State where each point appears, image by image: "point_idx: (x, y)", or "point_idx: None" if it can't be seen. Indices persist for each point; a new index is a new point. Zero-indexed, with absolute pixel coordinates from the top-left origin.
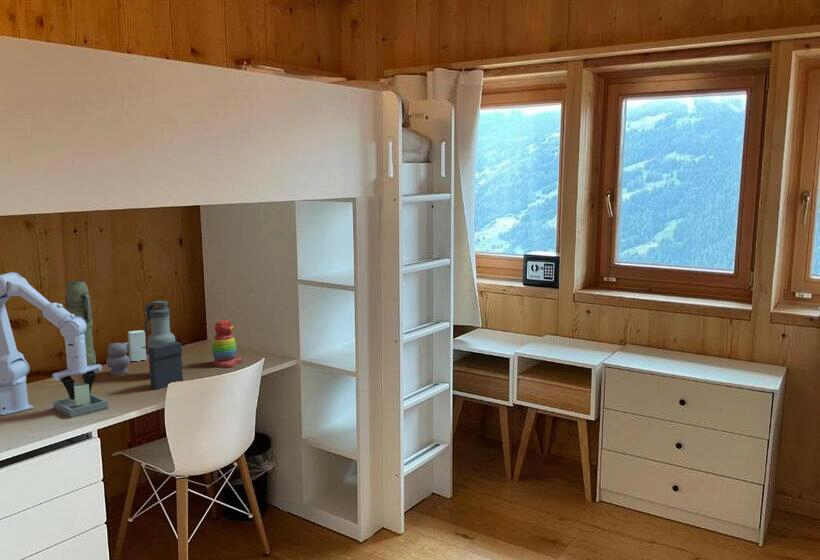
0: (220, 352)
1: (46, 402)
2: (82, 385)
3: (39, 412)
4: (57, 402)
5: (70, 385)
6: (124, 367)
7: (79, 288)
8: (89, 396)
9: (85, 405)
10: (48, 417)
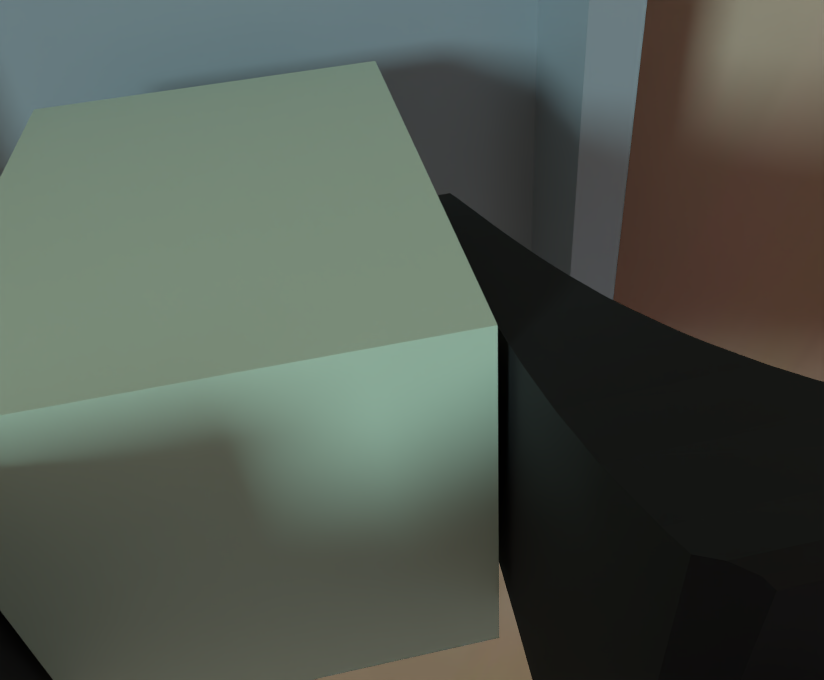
0: None
1: (510, 605)
2: (154, 427)
3: (732, 348)
4: None
5: (695, 387)
6: None
7: None
8: (9, 178)
9: None
10: (809, 35)
